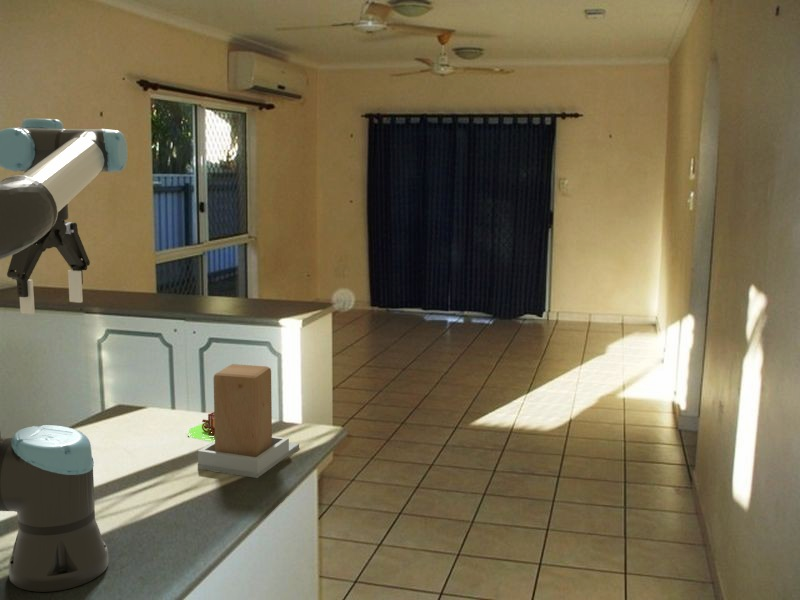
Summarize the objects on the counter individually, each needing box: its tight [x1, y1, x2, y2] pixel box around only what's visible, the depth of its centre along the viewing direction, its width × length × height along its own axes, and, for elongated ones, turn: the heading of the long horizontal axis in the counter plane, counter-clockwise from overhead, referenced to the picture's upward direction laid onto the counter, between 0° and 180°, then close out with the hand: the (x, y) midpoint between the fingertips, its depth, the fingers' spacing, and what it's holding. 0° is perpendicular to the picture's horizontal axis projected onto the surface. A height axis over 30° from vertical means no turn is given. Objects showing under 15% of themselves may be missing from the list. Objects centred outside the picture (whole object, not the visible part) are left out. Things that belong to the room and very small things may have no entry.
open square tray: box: [197, 435, 300, 479], centre depth 193 cm, size 20×14×5 cm
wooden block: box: [213, 363, 273, 457], centre depth 189 cm, size 10×10×20 cm
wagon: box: [186, 411, 215, 442], centre depth 211 cm, size 15×15×6 cm
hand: (52, 307), depth 171 cm, fingers open, 13 cm apart
